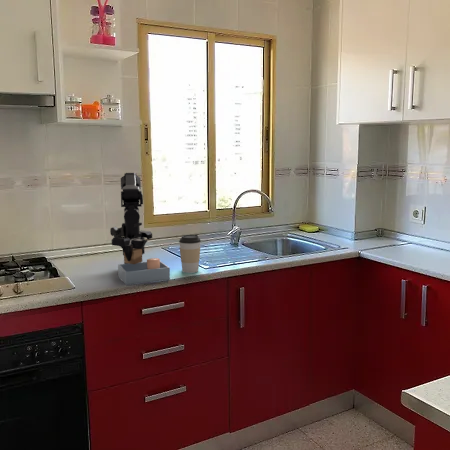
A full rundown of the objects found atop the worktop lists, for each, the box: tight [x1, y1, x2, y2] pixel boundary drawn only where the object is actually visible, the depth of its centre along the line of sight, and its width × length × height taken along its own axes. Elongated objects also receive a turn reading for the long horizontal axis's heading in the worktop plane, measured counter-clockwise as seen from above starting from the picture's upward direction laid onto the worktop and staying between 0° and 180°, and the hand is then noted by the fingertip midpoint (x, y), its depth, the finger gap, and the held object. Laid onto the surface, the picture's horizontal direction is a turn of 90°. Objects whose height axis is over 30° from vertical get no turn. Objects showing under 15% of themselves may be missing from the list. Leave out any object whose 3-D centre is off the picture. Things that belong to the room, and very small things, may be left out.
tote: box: [117, 260, 171, 286], centre depth 199 cm, size 17×13×5 cm
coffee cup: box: [178, 234, 202, 274], centre depth 210 cm, size 9×9×15 cm
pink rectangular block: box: [146, 257, 161, 270], centre depth 198 cm, size 5×5×7 cm
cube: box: [123, 248, 143, 264], centre depth 198 cm, size 5×5×5 cm
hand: (133, 259), depth 198 cm, fingers closed on cube, 5 cm apart
